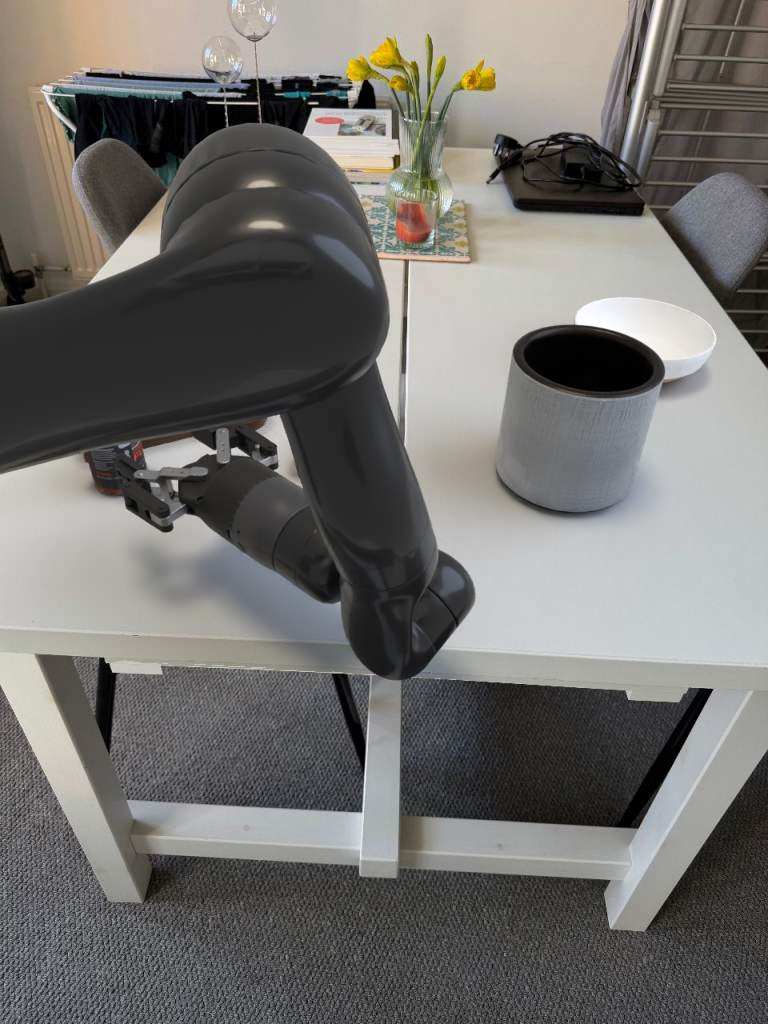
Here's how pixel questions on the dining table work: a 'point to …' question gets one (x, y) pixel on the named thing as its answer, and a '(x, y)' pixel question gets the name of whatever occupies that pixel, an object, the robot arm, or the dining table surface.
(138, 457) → the supplement bottle
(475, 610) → the dining table surface
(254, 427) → the spoon
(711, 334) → the bowl
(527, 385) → the planter
